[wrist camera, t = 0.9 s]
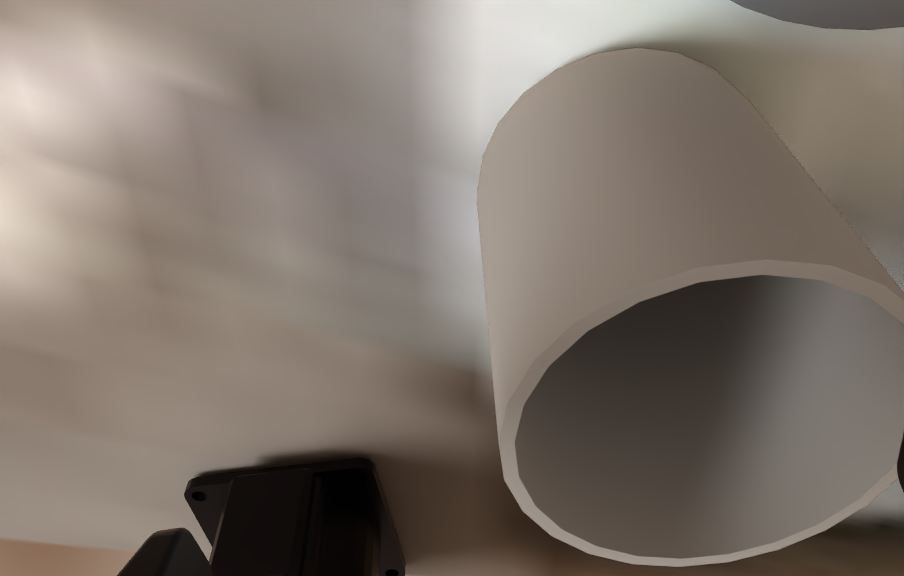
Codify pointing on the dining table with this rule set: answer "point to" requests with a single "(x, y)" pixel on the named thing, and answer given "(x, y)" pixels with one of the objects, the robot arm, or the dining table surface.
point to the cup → (679, 321)
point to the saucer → (833, 12)
